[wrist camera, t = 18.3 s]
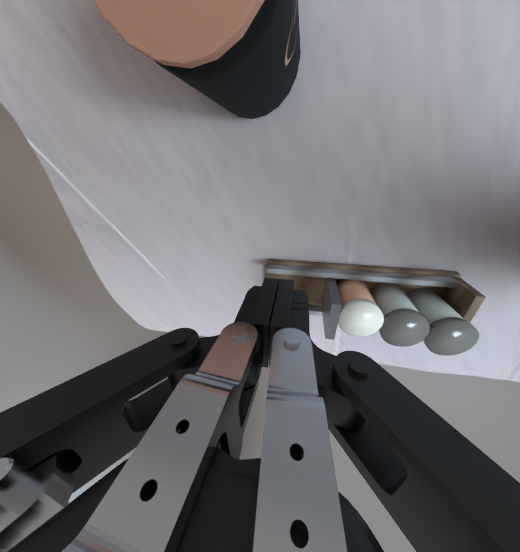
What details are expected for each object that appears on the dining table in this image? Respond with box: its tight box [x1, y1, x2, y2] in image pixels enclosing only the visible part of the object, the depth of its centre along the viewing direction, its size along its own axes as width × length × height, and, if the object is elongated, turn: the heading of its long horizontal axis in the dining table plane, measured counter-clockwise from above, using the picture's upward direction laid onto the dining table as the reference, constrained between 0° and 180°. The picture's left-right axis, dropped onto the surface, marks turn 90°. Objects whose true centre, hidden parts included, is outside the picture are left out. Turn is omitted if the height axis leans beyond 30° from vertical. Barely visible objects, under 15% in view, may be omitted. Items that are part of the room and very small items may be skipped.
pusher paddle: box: [322, 278, 342, 339], centre depth 31 cm, size 1×6×8 cm, turn 0°
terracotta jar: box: [336, 279, 384, 337], centre depth 31 cm, size 6×6×8 cm
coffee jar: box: [93, 0, 300, 119], centre depth 16 cm, size 11×11×18 cm
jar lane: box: [266, 259, 485, 322], centre depth 33 cm, size 28×9×6 cm, turn 91°
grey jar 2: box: [406, 288, 479, 355], centre depth 29 cm, size 6×6×8 cm
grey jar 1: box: [369, 282, 430, 346], centre depth 30 cm, size 6×6×8 cm
